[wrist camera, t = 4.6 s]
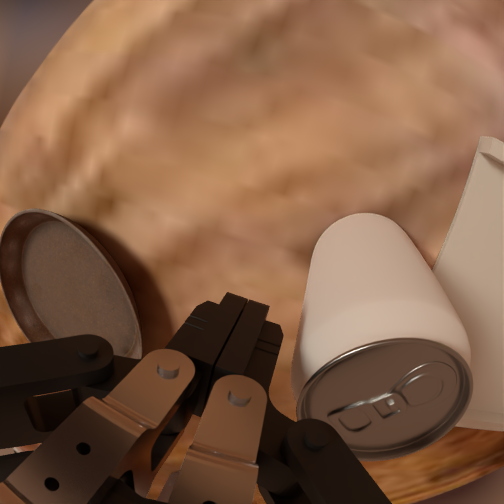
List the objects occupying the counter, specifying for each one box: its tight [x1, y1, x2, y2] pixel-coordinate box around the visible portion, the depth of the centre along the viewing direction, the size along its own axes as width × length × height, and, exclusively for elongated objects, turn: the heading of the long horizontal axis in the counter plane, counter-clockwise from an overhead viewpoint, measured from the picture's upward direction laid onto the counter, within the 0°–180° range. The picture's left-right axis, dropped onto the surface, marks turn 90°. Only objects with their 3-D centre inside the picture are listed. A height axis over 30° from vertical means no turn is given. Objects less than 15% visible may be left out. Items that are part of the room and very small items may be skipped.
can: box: [291, 213, 473, 461], centre depth 14 cm, size 6×6×12 cm
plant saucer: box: [0, 209, 142, 359], centre depth 25 cm, size 18×18×3 cm
